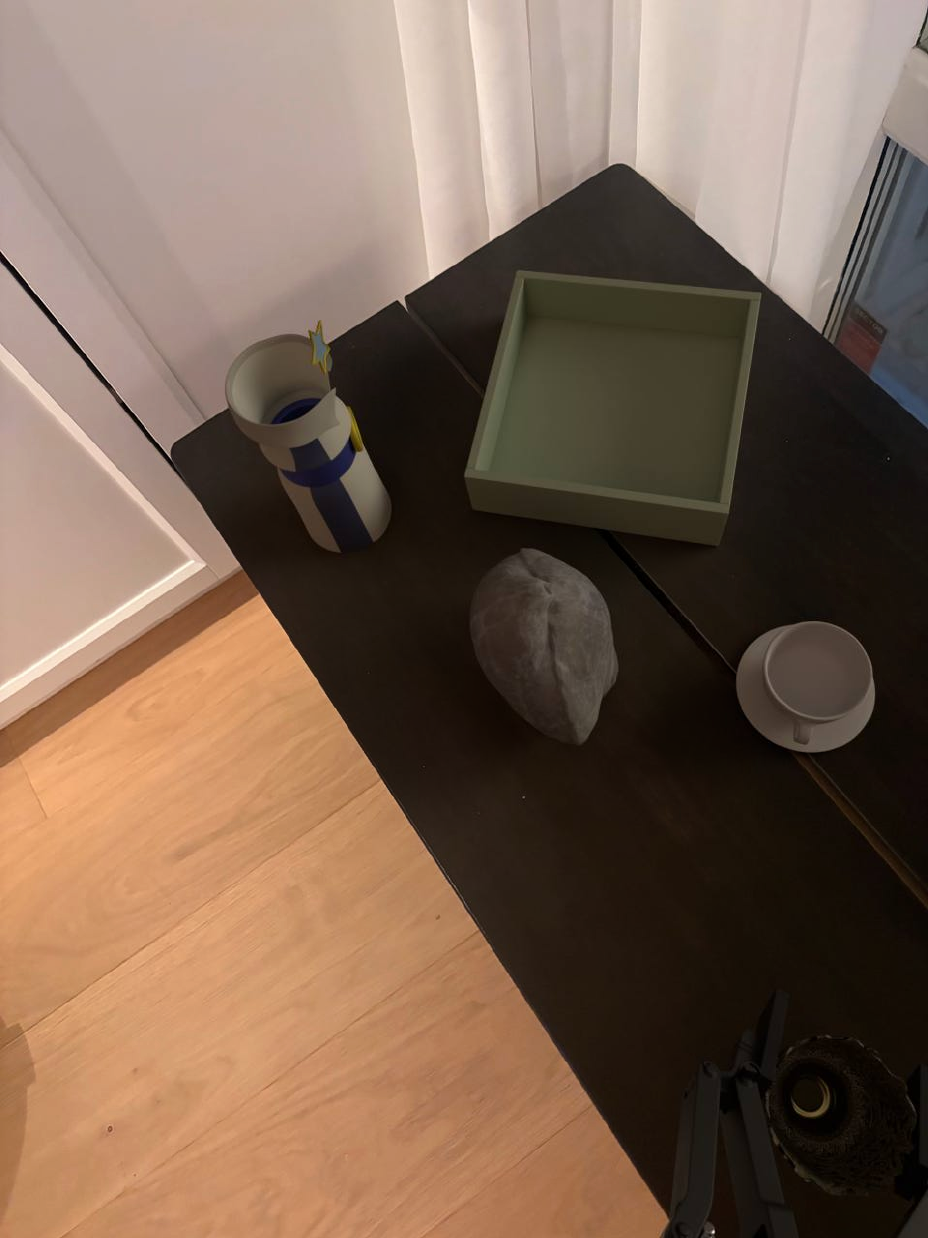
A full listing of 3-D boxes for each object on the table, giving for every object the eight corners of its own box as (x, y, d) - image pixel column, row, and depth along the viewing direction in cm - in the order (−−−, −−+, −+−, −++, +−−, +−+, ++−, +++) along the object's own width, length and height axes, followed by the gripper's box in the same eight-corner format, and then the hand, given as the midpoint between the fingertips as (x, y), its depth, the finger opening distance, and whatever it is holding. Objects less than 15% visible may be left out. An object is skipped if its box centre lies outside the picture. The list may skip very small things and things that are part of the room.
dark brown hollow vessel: (900, 1115, 53) (950, 1139, 46) (802, 1194, 53) (836, 1231, 45) (812, 1001, 56) (845, 1006, 49) (717, 1074, 55) (736, 1091, 48)
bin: (718, 546, 74) (728, 513, 68) (472, 510, 78) (463, 476, 72) (749, 337, 80) (761, 292, 75) (521, 313, 84) (516, 269, 79)
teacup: (746, 615, 71) (756, 592, 67) (880, 641, 69) (899, 619, 65) (725, 737, 68) (734, 721, 64) (864, 768, 66) (883, 754, 62)
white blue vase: (382, 455, 81) (300, 250, 58) (406, 537, 78) (329, 356, 54) (294, 483, 81) (176, 290, 58) (314, 566, 78) (198, 397, 55)
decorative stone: (649, 734, 69) (664, 677, 55) (521, 780, 69) (504, 735, 55) (578, 565, 75) (575, 474, 61) (459, 608, 75) (429, 527, 61)
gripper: (515, 1379, 37) (655, 994, 57) (1034, 1748, 32) (994, 1181, 51) (567, 1288, 34) (697, 910, 53) (1162, 1684, 28) (1068, 1101, 47)
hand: (843, 1043), depth 52 cm, fingers closed on dark brown hollow vessel, 7 cm apart
